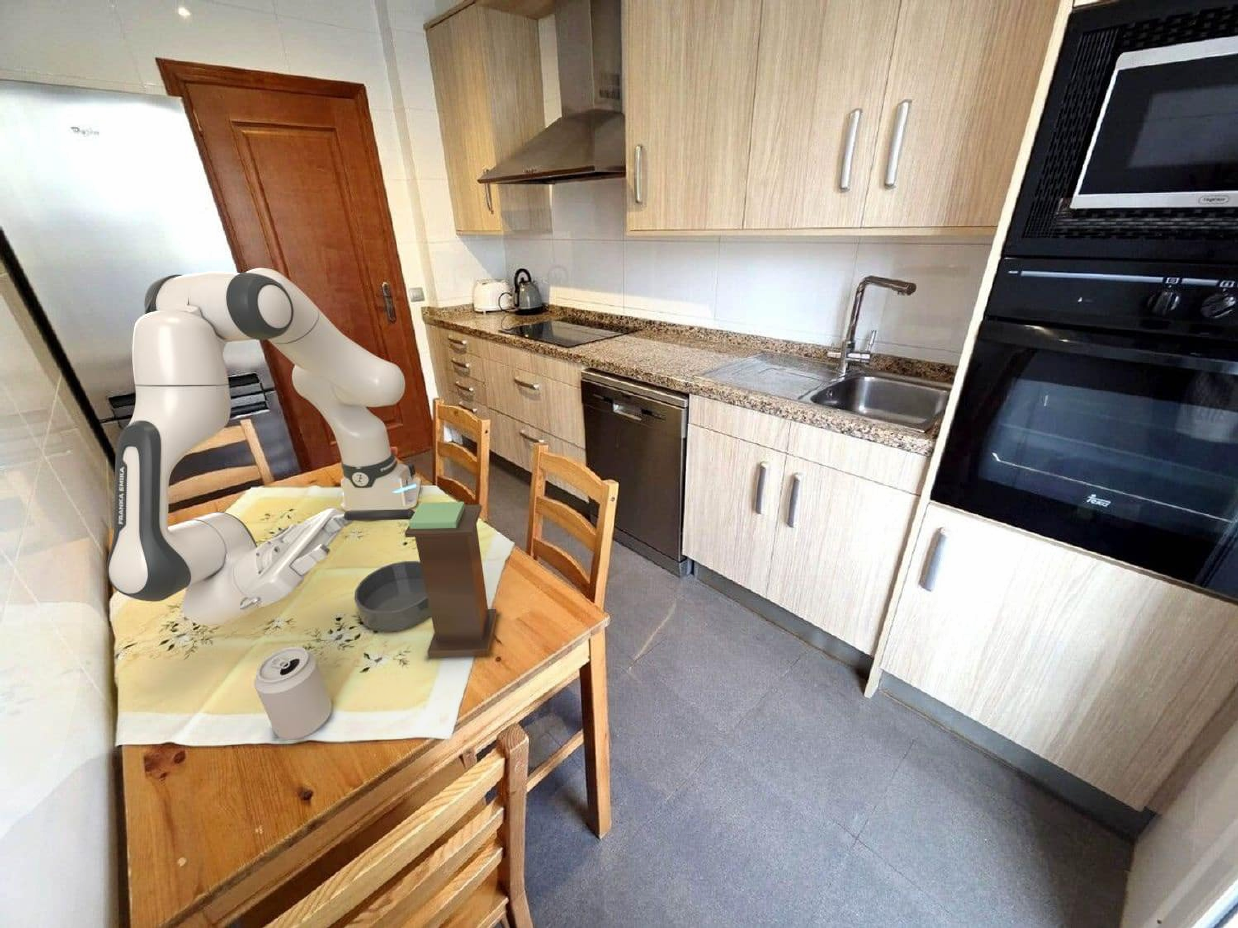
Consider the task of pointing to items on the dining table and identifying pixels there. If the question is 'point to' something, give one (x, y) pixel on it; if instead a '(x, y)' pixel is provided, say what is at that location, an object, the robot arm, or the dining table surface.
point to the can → (293, 692)
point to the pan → (393, 597)
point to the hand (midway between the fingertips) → (339, 532)
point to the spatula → (416, 515)
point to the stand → (456, 588)
